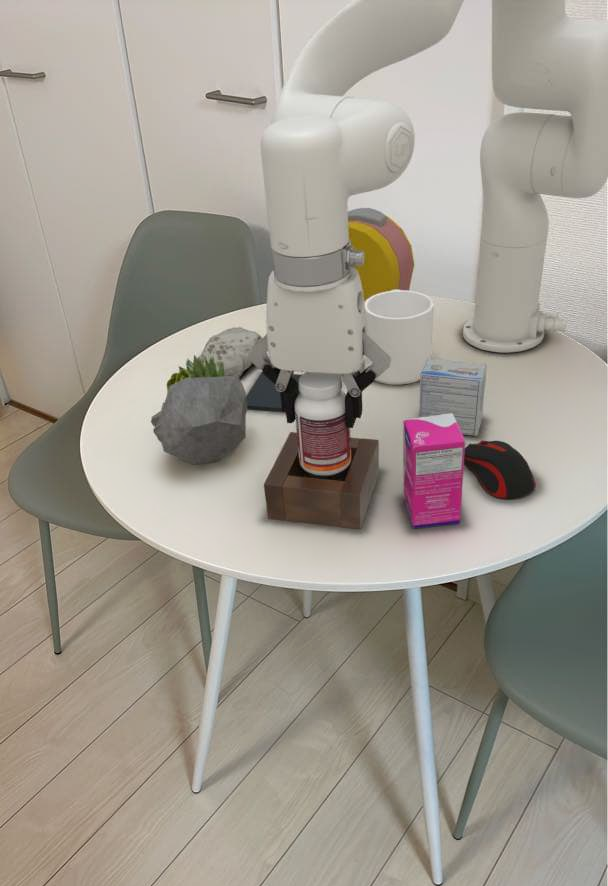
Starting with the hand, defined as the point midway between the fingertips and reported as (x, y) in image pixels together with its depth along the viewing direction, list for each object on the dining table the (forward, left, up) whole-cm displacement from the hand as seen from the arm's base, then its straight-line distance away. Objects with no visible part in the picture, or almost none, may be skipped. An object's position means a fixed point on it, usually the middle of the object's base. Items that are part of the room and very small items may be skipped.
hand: (322, 417), depth 85 cm
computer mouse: (-20, -8, -11) cm, 24 cm away
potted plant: (+19, -8, -11) cm, 23 cm away
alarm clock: (+5, -47, -11) cm, 48 cm away
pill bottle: (0, 0, -6) cm, 6 cm away
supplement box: (-13, +1, -11) cm, 17 cm away
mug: (-3, -34, -11) cm, 35 cm away
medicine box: (-13, -18, -11) cm, 24 cm away
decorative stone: (+23, -30, -11) cm, 39 cm away
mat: (+11, -23, -11) cm, 27 cm away
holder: (0, 0, -11) cm, 11 cm away
